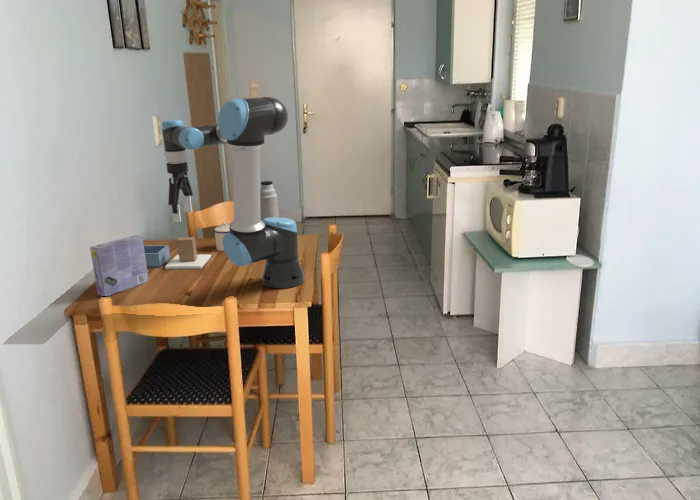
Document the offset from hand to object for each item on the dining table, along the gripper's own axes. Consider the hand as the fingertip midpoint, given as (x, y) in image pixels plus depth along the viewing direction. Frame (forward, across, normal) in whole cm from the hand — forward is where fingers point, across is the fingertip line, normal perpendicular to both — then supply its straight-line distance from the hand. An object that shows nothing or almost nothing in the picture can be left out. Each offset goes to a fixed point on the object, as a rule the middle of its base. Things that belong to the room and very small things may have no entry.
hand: (183, 216), depth 221 cm
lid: (+19, 0, 0) cm, 19 cm away
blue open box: (+19, 0, -15) cm, 24 cm away
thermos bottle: (+19, -22, +29) cm, 41 cm away
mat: (+19, 0, 0) cm, 19 cm away
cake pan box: (+19, +26, -15) cm, 35 cm away
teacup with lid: (+19, -20, +11) cm, 30 cm away
